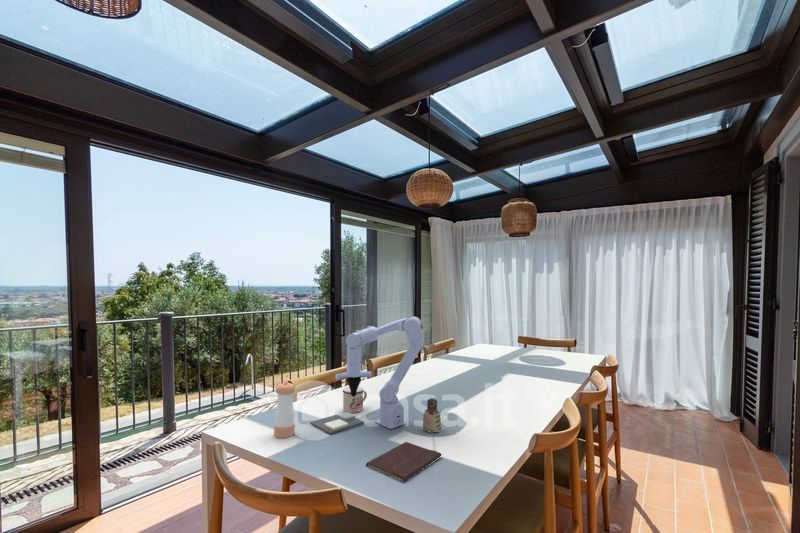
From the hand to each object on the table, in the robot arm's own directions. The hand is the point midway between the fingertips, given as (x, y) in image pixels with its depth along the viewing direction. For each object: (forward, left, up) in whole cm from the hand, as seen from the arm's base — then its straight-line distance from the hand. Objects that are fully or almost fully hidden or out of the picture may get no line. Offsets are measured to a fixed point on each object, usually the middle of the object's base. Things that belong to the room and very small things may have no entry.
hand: (353, 395), depth 154 cm
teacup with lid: (+10, -9, -10) cm, 17 cm away
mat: (+1, +7, -10) cm, 12 cm away
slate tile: (+2, +2, -9) cm, 10 cm away
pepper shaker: (+6, +27, -10) cm, 29 cm away
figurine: (-28, -17, -10) cm, 34 cm away
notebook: (-39, +9, -11) cm, 42 cm away
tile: (0, +10, -8) cm, 13 cm away
